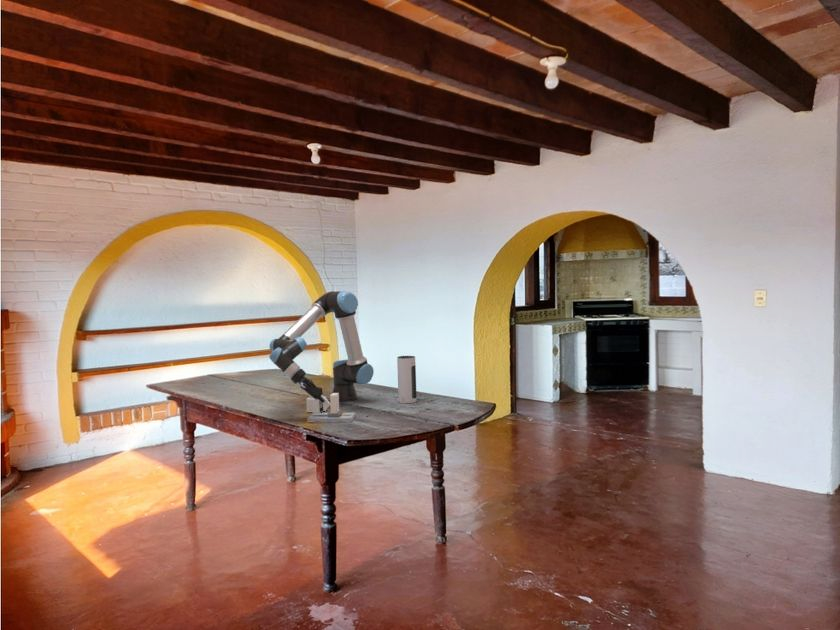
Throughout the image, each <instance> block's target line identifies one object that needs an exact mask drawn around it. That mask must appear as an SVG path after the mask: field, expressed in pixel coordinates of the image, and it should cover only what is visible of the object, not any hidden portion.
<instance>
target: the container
mask: <svg viewBox="0 0 840 630" xmlns="http://www.w3.org/2000/svg"><path fill="white" fill-rule="evenodd" d="M316 387H317V388H318V389H319V390H320V391H321V392H322V393H323V388H322V387H320V386H316ZM322 395H323V396H324V393H323V394H322ZM324 397H325V398H326V399H327V396H324ZM305 403H306V413H307V412H314V413H319V412H322V411H325V412H327V411H328V408H326V407H325V406H324V405H323V404H322V403H321V402H320V401H319V400H318V399H317V400H316V399H314V398H313V397H312V396H311V395H310V394H309V397H307V398H306V401H305ZM326 410H327V411H326ZM322 413H323V412H322Z"/></svg>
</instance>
